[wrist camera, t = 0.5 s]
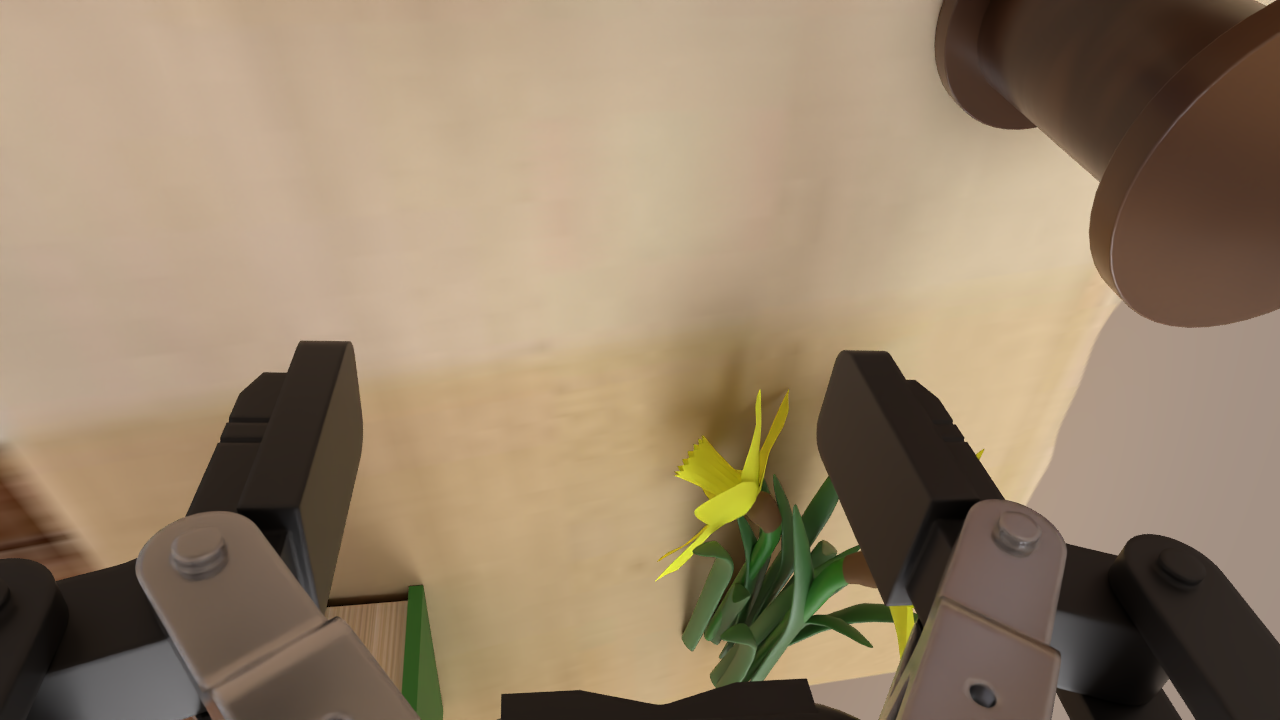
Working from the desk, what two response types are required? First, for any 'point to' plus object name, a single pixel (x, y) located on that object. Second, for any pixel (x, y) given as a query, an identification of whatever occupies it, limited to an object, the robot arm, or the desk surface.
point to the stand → (1145, 134)
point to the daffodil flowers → (751, 599)
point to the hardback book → (400, 646)
